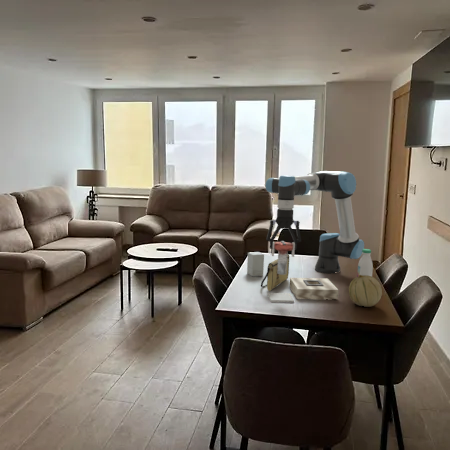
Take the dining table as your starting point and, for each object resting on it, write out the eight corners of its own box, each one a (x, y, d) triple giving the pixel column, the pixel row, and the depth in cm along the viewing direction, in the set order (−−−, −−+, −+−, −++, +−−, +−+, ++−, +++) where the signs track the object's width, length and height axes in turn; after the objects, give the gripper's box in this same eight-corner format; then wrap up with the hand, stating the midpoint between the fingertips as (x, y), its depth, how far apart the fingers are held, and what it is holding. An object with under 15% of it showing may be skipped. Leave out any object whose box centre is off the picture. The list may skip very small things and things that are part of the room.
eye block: (326, 287, 230) (327, 277, 229) (337, 299, 210) (338, 288, 209) (289, 286, 229) (290, 276, 228) (296, 298, 209) (297, 287, 208)
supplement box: (263, 275, 249) (264, 254, 247) (251, 276, 246) (252, 255, 244) (258, 272, 256) (258, 251, 254) (246, 273, 253) (247, 252, 251)
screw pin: (271, 270, 211) (272, 240, 209) (289, 271, 211) (291, 240, 209) (273, 275, 202) (275, 244, 200) (292, 276, 202) (294, 244, 200)
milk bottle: (373, 285, 237) (376, 249, 234) (367, 288, 231) (370, 251, 228) (360, 282, 242) (363, 247, 239) (353, 285, 236) (356, 249, 233)
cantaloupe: (387, 310, 197) (390, 278, 195) (359, 312, 193) (362, 280, 191) (367, 299, 211) (370, 270, 209) (341, 301, 207) (343, 271, 205)
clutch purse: (277, 277, 247) (278, 251, 244) (289, 279, 243) (290, 253, 241) (257, 290, 220) (258, 262, 218) (270, 293, 217) (271, 264, 215)
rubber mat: (289, 295, 214) (289, 293, 214) (294, 302, 204) (294, 300, 203) (267, 294, 214) (267, 292, 214) (270, 302, 203) (270, 300, 203)
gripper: (263, 209, 198) (260, 257, 201) (310, 210, 199) (307, 258, 202) (261, 207, 205) (259, 253, 209) (306, 208, 206) (303, 254, 210)
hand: (282, 255), depth 206 cm, fingers closed on screw pin, 9 cm apart
